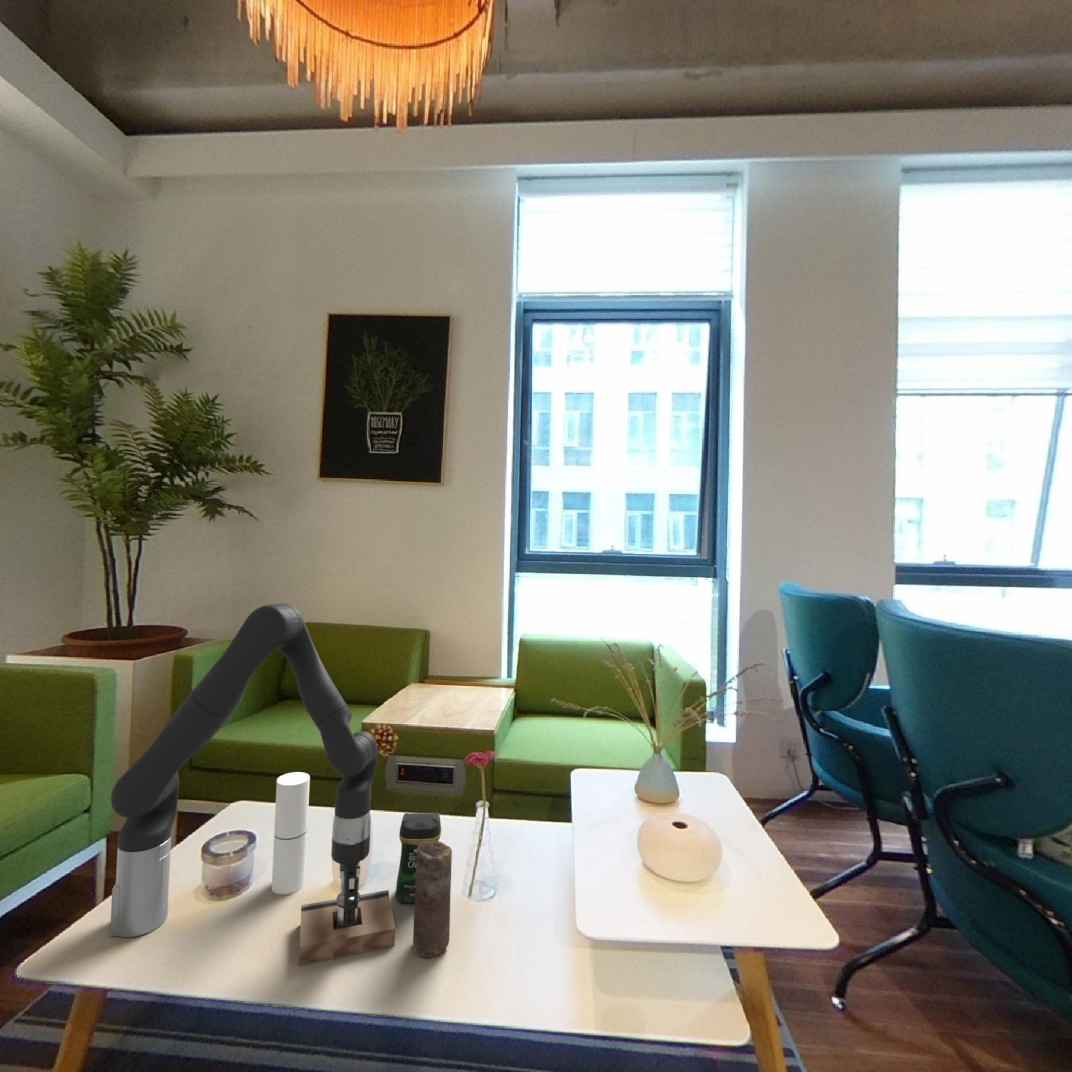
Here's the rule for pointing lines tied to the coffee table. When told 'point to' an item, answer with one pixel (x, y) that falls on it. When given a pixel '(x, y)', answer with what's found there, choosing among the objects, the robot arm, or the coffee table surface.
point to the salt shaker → (340, 911)
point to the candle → (432, 899)
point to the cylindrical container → (290, 832)
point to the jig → (345, 929)
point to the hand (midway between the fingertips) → (347, 910)
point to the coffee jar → (414, 849)
